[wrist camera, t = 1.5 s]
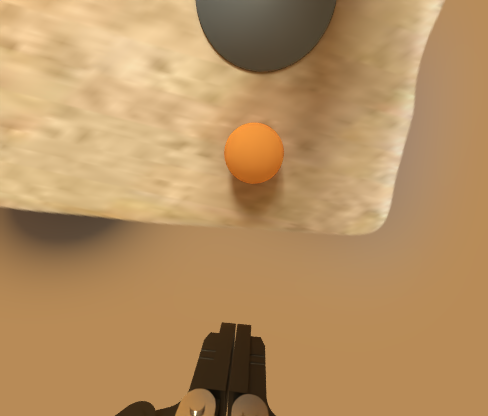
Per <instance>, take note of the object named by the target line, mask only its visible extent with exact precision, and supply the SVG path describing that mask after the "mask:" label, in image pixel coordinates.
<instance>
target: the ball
mask: <svg viewBox="0 0 488 416" xmlns="http://www.w3.org/2000/svg"><path fill="white" fill-rule="evenodd" d="M224 155H225V161H226V165H227V167H228V169H229V170H230V172H231V173H232V174H233V175H234V176H235V177H236V178H237V179H239V180H241V181H243V182H246V183H251V184H256V183H262V182H265V181H267V180H269V179H270V178H272V177H273V176H274V175H275V174H276V173H277V172H278V170H279V168H280V167H281V164H282V161H283V156H284V149H283V144H282V141H281V139H280V137H279V136H278V134H277V133H276V132H275V131H274V130H273V129H272V128H270V127H269V126H267V125H264V124H261V123H248V124H244V125H242V126H240V127H238V128H237V129H236V130H235V131H233V133H232V134H231V135H230V136H229V138H228V140H227V142H226V145H225V151H224Z"/></svg>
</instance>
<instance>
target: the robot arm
mask: <svg viewBox="0 0 488 416" xmlns="http://www.w3.org/2000/svg"><path fill="white" fill-rule="evenodd" d="M235 327H236V324H232V323H222V324H221V328H220V333H212V332H211V333H210V334H209V335H208V336H207V337H206V339H205V340H204V343H203V346H202V350H201V352H200V356H199V359H198V362H197V366H196V369H195V372H194V376H193V379H192V383H191V386H190V389H189V391H188V393H187V394H186V395H185V396H184V397H183V399H182V400H181V401H180V402H179V403H178V404H176V405H174V406H171V407H168V408H164V409H160V410H156V411H155V408H154V406H153V405H152V404H151V403H149V402H146V401H139V402H135V403H133V404H131V405H129V406H128V407H126V408H125V409H124V410H122V411H121V412H120V413H118V414H117V415H115V416H226V412H227V405H228V416H275V415H274V414H273V412H272V411H271V410H270V408H269V406H268V403H267V399H266V370H265V368H266V367H265V345H264V343H263V341H262V339H261V337H252V336H251V325H244V324H238V325H237V332H236V340H235ZM234 345H235V347H234Z"/></svg>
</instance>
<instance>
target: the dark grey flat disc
mask: <svg viewBox="0 0 488 416" xmlns="http://www.w3.org/2000/svg"><path fill="white" fill-rule="evenodd" d="M335 4H336V0H196V7H197V13H198V16H199V20H200V23H201V25H202V28H203V30H204V33H205V34H206V36H207V38H208V40H209V41H210V43H211V44H212V46H213V47H214V48H215V49H216V51H217V52H218V53H219V54H220V55H221V56H223V57H224V58H225V59H226V60H228V61H229V62H231V63H232V64H234V65H236V66H238V67H241V68H243V69H247V70H251V71H258V72H266V71H274V70H279V69H282V68H285V67H287V66H289V65H291V64H293V63H295V62H297V61H298V60H300V59H301V58H303V57H304V56H305V55H306V54H307V53H308V52H310V50H311V49H312V48H313V47H314V46H315V45H316V44H317V42H318V41H319V40H320V38H321V37H322V35H323V34H324V32H325V30H326V28H327V27H328V24H329V22H330V20H331V17H332V15H333V11H334V8H335Z"/></svg>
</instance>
